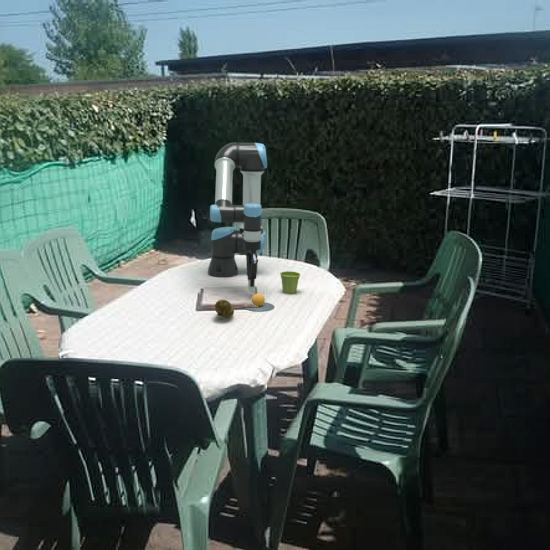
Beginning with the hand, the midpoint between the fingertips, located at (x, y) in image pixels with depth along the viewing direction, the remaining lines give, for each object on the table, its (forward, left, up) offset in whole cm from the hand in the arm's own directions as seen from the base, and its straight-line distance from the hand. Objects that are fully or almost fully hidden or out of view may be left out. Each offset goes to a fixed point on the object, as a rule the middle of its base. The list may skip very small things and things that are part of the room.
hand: (251, 293), depth 256 cm
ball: (+13, -4, +1) cm, 13 cm away
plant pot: (0, +20, -2) cm, 20 cm away
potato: (+20, -22, -2) cm, 30 cm away
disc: (+14, -4, -2) cm, 14 cm away
